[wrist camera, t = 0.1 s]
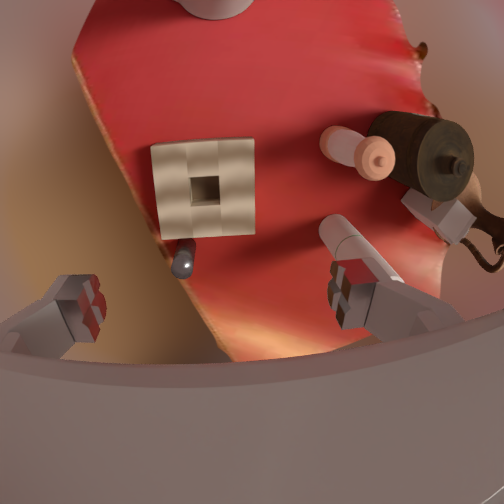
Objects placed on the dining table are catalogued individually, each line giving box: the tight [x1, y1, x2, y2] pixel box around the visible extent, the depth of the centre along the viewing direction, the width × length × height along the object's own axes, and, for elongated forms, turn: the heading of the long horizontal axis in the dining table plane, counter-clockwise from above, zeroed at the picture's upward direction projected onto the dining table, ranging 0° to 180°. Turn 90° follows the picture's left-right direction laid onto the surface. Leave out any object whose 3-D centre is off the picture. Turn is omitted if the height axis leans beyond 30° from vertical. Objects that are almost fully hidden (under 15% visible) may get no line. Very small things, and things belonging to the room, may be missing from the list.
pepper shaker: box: [319, 126, 395, 181], centre depth 46 cm, size 7×7×19 cm
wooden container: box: [367, 111, 474, 202], centre depth 45 cm, size 15×15×22 cm
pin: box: [171, 238, 196, 279], centre depth 57 cm, size 4×4×10 cm
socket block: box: [151, 137, 255, 240], centre depth 54 cm, size 18×18×5 cm
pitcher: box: [431, 172, 504, 273], centre depth 48 cm, size 18×17×28 cm
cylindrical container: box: [319, 214, 404, 283], centre depth 52 cm, size 7×7×25 cm
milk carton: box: [401, 188, 477, 245], centre depth 53 cm, size 7×7×19 cm
